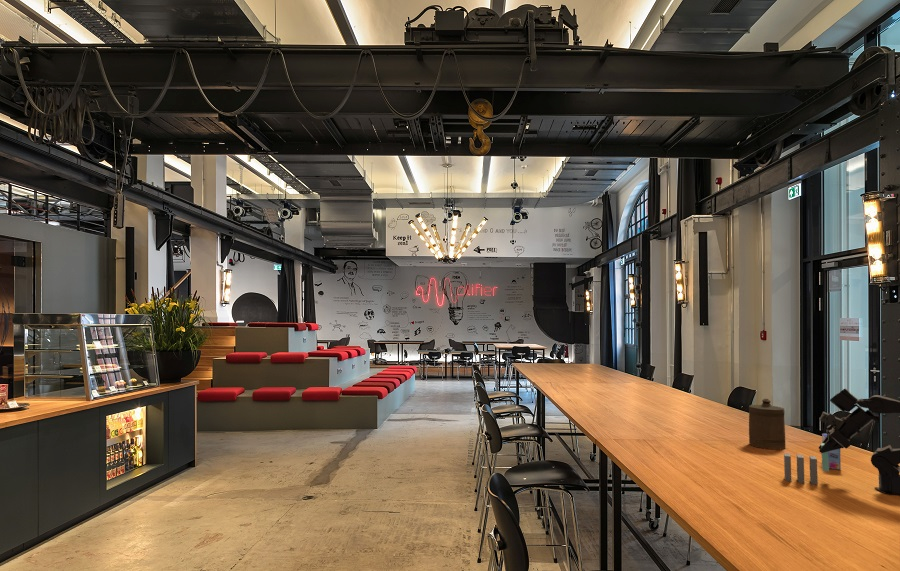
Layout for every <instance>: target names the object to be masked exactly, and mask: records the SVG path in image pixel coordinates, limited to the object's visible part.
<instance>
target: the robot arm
mask: <svg viewBox="0 0 900 571" xmlns="http://www.w3.org/2000/svg"><path fill="white" fill-rule="evenodd" d="M829 402H831V403H832V404H833V405H834V406H835V407H837V409H839V410H840V411H841V412H843V413H844V412H847V413H849V414H848V415H847V416H843V417H841V418H839V417H838V416H835V414H833V413H831V412H829V413H827V412H825V411H822V413H821V416H820V418H819V421H820V422H822V423H824V424H825V423H826V424H828V426H826V428H827V429H826V434H827V437H826V438H825V439H824V441H823V442H822V441H821V443H825V444H824V445H823V446H822V448H821V444H820V445H819V446H818V449H819V450H818V451H819V453H820V454H821V453H824V452H828V451H832V450H836V449H840V450H841V449H844V448H845V449H846V450H847V449H848V448H849V447H851V440H852V438H853V437H854V436H856V435H857V434H860V433H861V432H862V430H863V429H864V428H865V427H866V426H868V425H869V424H870V423H872V421H874V422H875V423H876V424H878V425H879V424H880V418H881V416H880V415H875V414H900V400H897V399H894V398H891V397H887V396H884V395H879V394H875V395H872V396H871V397H869V398H860V399H858V398H857V397H856V396H855V395H853V394H852V393H851V392H850V391H849V390H848V389H847V388H843V389H842V390H841V391H839V392H838V393H837V394H835V395H834V396H833V397H831V398H830V399H829ZM854 408H855V409H854ZM863 408H865V409H866V410H864V409H863ZM851 411H852V412H851ZM850 412H851V413H850ZM870 462H871V464H872V466H873V467H874V468H876V469H877V471H878V487H877V486H876V487H875V486H874V490H876V491H878V492H880V493H883V494H885V495H897V496H898V495H900V448H893V447H892V446H891V444H888V445H887V446H885V447H877V448H876V450H875V451H874V452H873V453H872V455H871V458H870Z"/></svg>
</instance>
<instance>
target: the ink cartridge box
mask: <svg viewBox="0 0 900 571" xmlns="http://www.w3.org/2000/svg"><path fill="white" fill-rule="evenodd" d="M821 435H822V436H821V443H822V442H823V441H824V439H825V438H826V437H827V433H821ZM841 459H842V458H841V449H836V450H832V451H828V462H829V469H833V470H839V471H841V468H842V467H841V465H842V464H841Z"/></svg>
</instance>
